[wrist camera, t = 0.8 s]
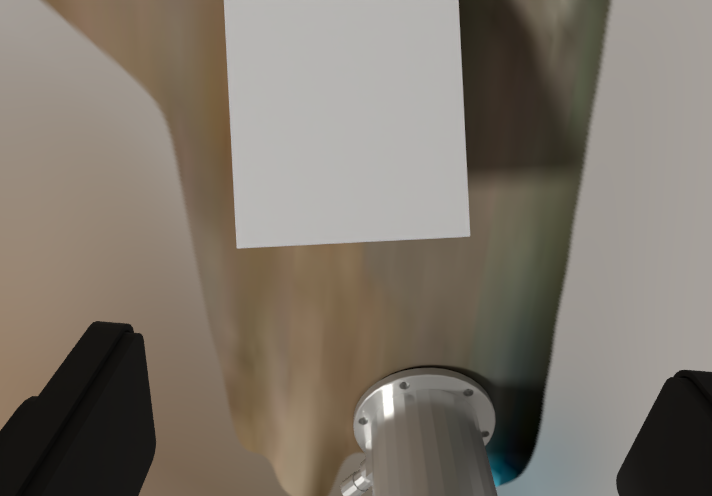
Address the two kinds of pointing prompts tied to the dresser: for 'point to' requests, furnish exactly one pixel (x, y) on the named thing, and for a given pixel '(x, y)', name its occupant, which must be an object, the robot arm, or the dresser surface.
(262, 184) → the grey plank
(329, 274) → the dresser surface
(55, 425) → the robot arm
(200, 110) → the dresser surface
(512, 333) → the dresser surface
